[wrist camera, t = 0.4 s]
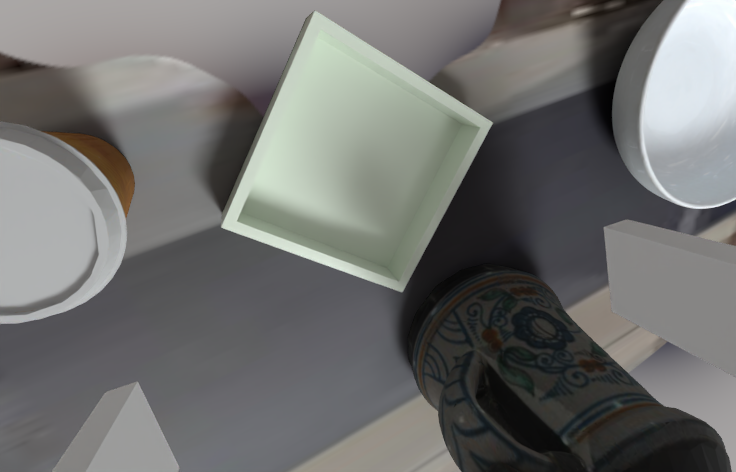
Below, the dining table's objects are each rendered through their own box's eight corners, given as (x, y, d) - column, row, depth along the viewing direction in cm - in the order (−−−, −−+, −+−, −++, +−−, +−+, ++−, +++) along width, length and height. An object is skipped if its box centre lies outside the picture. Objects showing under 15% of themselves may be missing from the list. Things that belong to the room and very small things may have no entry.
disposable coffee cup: (-37, 132, 26) (-228, 166, 15) (120, 89, 28) (50, 92, 17) (48, 263, 30) (-55, 364, 19) (182, 218, 31) (157, 287, 21)
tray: (306, 18, 29) (315, 10, 26) (470, 119, 36) (493, 122, 33) (222, 213, 32) (221, 227, 29) (388, 275, 38) (402, 292, 35)
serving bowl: (735, -79, 37) (836, -112, 31) (753, 125, 46) (833, 131, 40) (552, 43, 36) (619, 35, 30) (607, 229, 45) (667, 252, 39)
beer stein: (536, 373, 49) (794, 616, 27) (381, 422, 44) (536, 769, 22) (546, 244, 43) (890, 418, 21) (367, 285, 38) (563, 569, 16)
